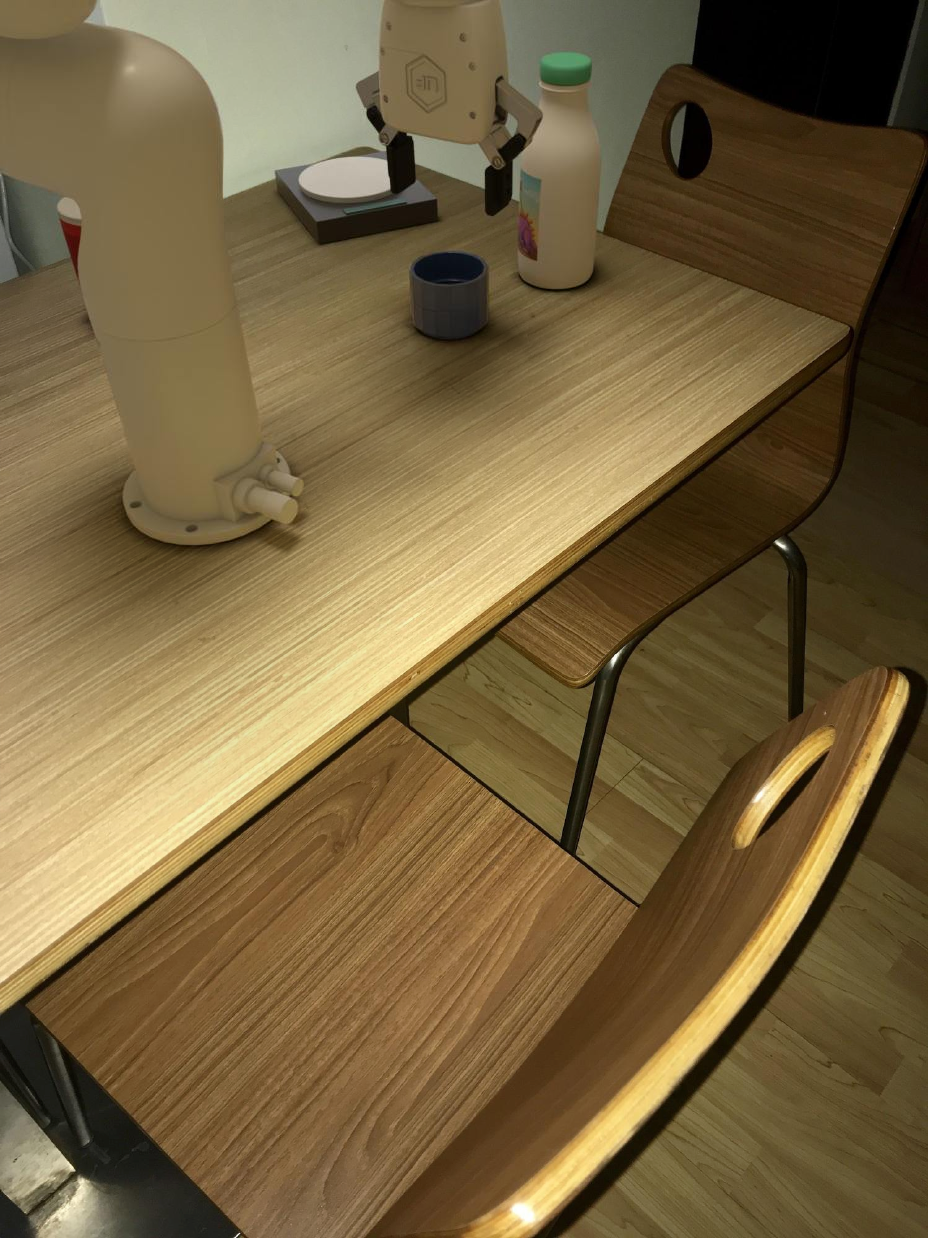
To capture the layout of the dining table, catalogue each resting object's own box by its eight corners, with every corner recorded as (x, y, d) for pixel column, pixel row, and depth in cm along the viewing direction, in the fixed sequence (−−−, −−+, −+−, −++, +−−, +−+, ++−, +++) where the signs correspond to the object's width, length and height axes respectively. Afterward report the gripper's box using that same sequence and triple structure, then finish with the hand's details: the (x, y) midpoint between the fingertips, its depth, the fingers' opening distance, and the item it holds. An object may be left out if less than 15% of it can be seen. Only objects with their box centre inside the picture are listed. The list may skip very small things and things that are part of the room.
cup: (501, 315, 96) (502, 260, 92) (463, 349, 91) (462, 292, 87) (438, 298, 98) (436, 244, 94) (398, 329, 94) (394, 274, 90)
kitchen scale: (438, 220, 111) (437, 191, 109) (319, 244, 107) (315, 214, 105) (387, 171, 122) (385, 144, 120) (277, 191, 118) (273, 163, 116)
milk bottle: (598, 261, 104) (616, 47, 89) (585, 295, 98) (601, 74, 84) (526, 253, 105) (533, 42, 91) (509, 286, 100) (513, 68, 86)
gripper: (319, -30, 76) (344, 195, 88) (518, -3, 69) (515, 236, 81) (375, -52, 80) (391, 165, 92) (566, -29, 74) (557, 202, 86)
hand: (449, 198), depth 87 cm, fingers open, 9 cm apart
